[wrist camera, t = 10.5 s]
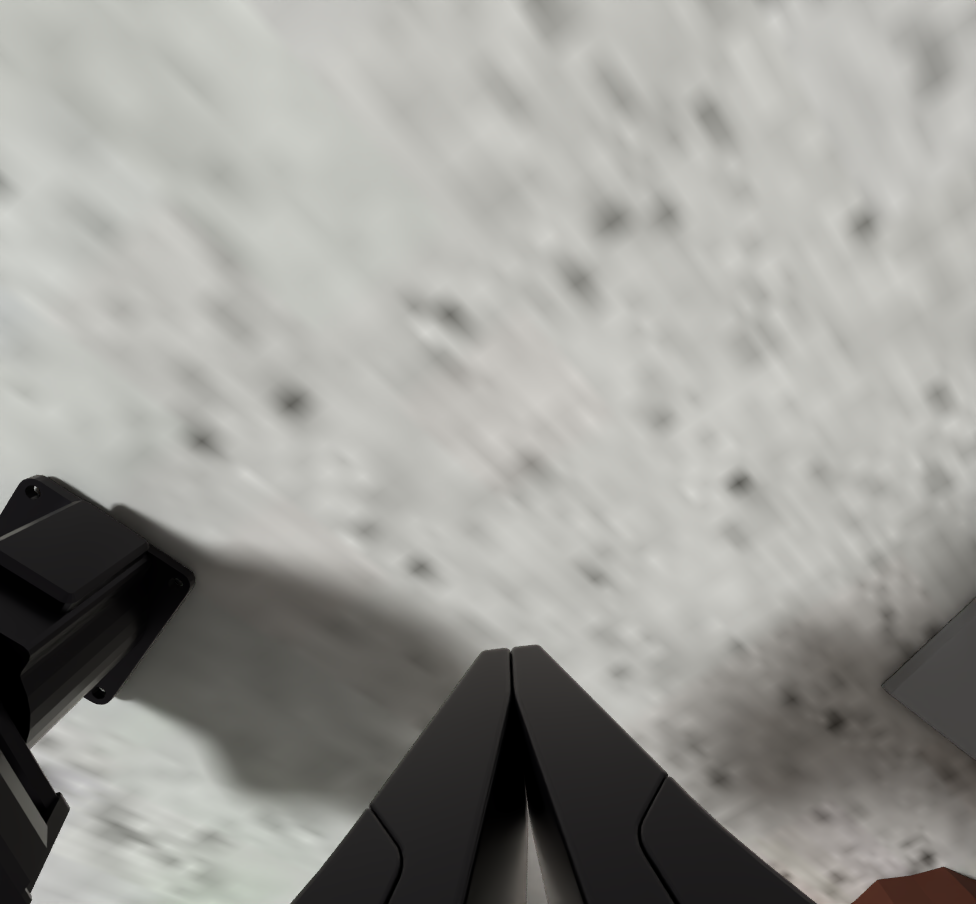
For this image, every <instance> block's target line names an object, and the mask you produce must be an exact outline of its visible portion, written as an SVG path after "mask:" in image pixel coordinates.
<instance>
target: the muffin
mask: <svg viewBox="0 0 976 904" xmlns="http://www.w3.org/2000/svg"><path fill="white" fill-rule="evenodd" d="M851 904H976V880H973V879H970V878H968V877H965V876H963V875H961V874H959V873H956V872H954V871H952V870H950V869H948V868H945V867H941V868H937V869H934V870H930V871H926V872H923V873H919V874H915V875H911V876H904V877H896V878H888V879H880V880H877V881H876V882H874V883H873V884H872V885H871V886H870V887H869V888H868V889H867V890H866V891H865V892H864V893H863V894H862V895H861V896H860V897H859V898H858V899H856V900H855V901H854V902H853V903H851Z"/></svg>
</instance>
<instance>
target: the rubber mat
mask: <svg viewBox="0 0 976 904" xmlns="http://www.w3.org/2000/svg"><path fill="white" fill-rule="evenodd" d="M882 687H883V688H884V689H885V690H886V691H887V692H888V693H889V694H890V695H892V696H893V697H894V698H895V699H897V700H898V701H899V702H901V703H902V704H903V705H904V706H906V707H907V708H908V709H910V710H911V711H912V712H913V713H915V714H916V715H917V716H919V717H920V718H921V719H922V720H924V721H925V722H926V723H928V724H929V725H930V726H932V727H933V728H934V729H935V730H937V731H938V732H939V733H941V734H942V735H943V736H944V737H946V738H947V739H948V740H950V741H951V742H952V743H953V744H955V745H956V746H957V747H959V748H960V749H961V750H962V751H964V752H965V753H966V754H968V755H969V756H970V757H972V758H973V759H974V760H975V761H976V598H975V599H974V600H973V601H972V602H971V603H970V604H969V605H967V606H966V607H965V608H964V609H963V610H962V611H961V612H960V613H959V614H958V615H957V616H956V617H955V618H954V619H952V620H951V621H950V622H949V623H948V624H947V625H946V626H945V627H944V628H943V629H942V630H941V631H940V632H939V633H938V634H936V635H935V636H934V637H933V638H932V639H931V640H930V641H929V642H928V643H927V644H926V645H925V646H924V647H923V648H921V649H920V650H919V651H918V652H917V653H916V654H915V655H914V656H913V657H912V658H911V659H910V660H909V661H908V662H907V663H905V664H904V665H903V666H902V667H901V668H900V669H899V670H898V671H897V672H896V673H895V674H894V675H893V676H892V677H890V678H889V679H888V680H887V681H886V682H885V683H884V684H883V685H882Z"/></svg>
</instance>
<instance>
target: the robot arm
mask: <svg viewBox="0 0 976 904" xmlns="http://www.w3.org/2000/svg"><path fill="white" fill-rule="evenodd" d="M34 486H36V487H37V488H38V489H39V490H40V493H41V495H38V494H37V493H36V492H35V490H34ZM174 578H178V579H180V580H181V581H182V583H183V586H180V585H178V584H177V583H176V582H175V580H174ZM194 585H195V576H194V574H193V573H192V572H191V571H190V570H189V569H188V568H186V567H185V566H183V565H182V564H180V563H179V562H177V561H176V560H174V559H173V558H171V557H169V556H168V555H166V554H165V553H163V552H162V551H160V550H159V549H157V548H156V547H154V546H153V545H151V544H149V543H148V542H147V541H146V540H145V539H144V538H143V537H141V536H140V535H138V534H136V533H135V532H133V531H132V530H130V529H129V528H127V527H126V526H124V525H123V524H121V523H120V522H118V521H116V520H115V519H113V518H112V517H110V516H109V515H107V514H106V513H104V512H103V511H101V510H100V509H98V508H96V507H95V506H93V505H92V504H90V503H89V502H87V501H85V500H82V499H80V498H79V497H77V496H76V495H74V494H73V493H71V492H69V491H68V490H66V489H65V488H63V487H62V486H60V485H59V484H57V483H56V482H54V481H53V480H51V479H49V478H48V477H45V476H43V475H36V476H33V477H30V478H27V479H25V480H23V481H22V482H21V483H20V484H19V485H18V487H17V488H16V490H15V492H14V493H13V495H12V497H11V498H10V500H9V501H8V503H7V505H6V506H5V508H4V510H3V511H2V513H1V514H0V904H30V903H31V901H32V896H31V894H30V893H31V891H32V889H33V887H34V885H35V883H36V880H37V878H38V876H39V874H40V872H41V870H42V868H43V866H44V863H45V861H46V859H47V857H48V855H49V853H50V851H51V849H52V846H53V844H54V842H55V840H56V838H57V836H58V834H59V832H60V829H61V827H62V825H63V823H64V821H65V819H66V817H67V815H68V812H69V810H70V807H69V805H68V804H67V802H66V800H65V799H64V797H63V795H62V794H61V793H60V792H58V793H55V791H54V789H53V788H52V786H51V784H50V783H49V781H48V779H47V778H46V776H45V774H44V773H43V771H42V769H41V768H40V766H39V764H38V763H37V761H36V759H35V758H34V756H33V754H32V753H31V751H30V749H31V748H32V747H33V746H34V745H35V744H36V743H37V742H38V741H39V740H40V739H41V738H42V737H43V736H44V735H45V734H46V733H47V732H48V731H49V730H50V729H51V728H52V727H53V726H54V725H55V724H56V723H57V722H58V721H59V720H60V719H61V718H62V717H63V716H64V715H65V714H67V713H68V712H69V711H70V710H71V709H72V708H73V707H74V706H75V705H76V704H77V703H78V702H79V701H80V700H81V699H82V698H83V697H84V698H86V699H88V700H89V701H91V702H93V703H95V704H101V705H103V704H106V703H108V702H109V701H110V700H111V699H112V698H113V697H114V696H115V695H116V694H117V693H118V692H119V690H120V689H121V688H122V686H123V685H124V683H125V682H126V681H127V679H128V678H129V676H130V675H131V674H132V672H133V671H134V669H135V668H136V667H137V665H138V664H139V662H140V661H141V660H142V658H143V657H144V655H145V654H146V653H147V651H148V650H149V649H150V647H151V646H152V644H153V643H154V642H155V640H156V639H157V637H158V636H159V635H160V633H161V632H162V630H163V629H164V628H165V626H166V625H167V623H168V622H169V621H170V619H171V618H172V616H173V615H174V614H175V612H176V611H177V609H178V608H179V607H180V605H181V604H182V603H183V601H184V600H185V598H186V597H187V596H188V594H189V593H190V591H191V590H192V589H193V587H194ZM99 687H101V688H103V689H104V690H105V692H104V691H102V690H101V689H100V688H99ZM526 794H527V796H526ZM527 802H528V809H529V817H530V822H531V827H532V832H533V837H534V842H535V846H536V851H537V855H538V860H539V865H540V869H541V874H542V878H543V883H544V887H545V892H546V897H547V901H548V904H817V903H815V902H814V901H813V900H812V899H810V898H809V897H808V896H807V895H805V894H804V893H803V892H802V891H800V890H799V889H798V888H797V887H795V886H794V885H793V884H792V883H790V882H789V881H788V880H787V879H785V878H784V877H783V876H782V875H780V874H779V873H778V872H777V871H775V870H774V869H773V868H772V867H770V866H769V865H768V864H767V863H765V862H764V861H763V860H762V859H761V858H760V857H758V856H757V855H756V854H755V853H754V852H752V851H751V850H750V849H749V848H748V847H746V846H745V845H744V844H743V843H742V842H741V841H739V840H738V839H737V838H736V837H735V836H733V835H732V834H731V833H730V832H729V831H727V830H726V829H725V828H724V827H723V826H722V825H721V824H720V823H718V822H717V821H716V820H715V819H714V818H713V817H712V816H711V815H710V814H709V813H708V812H707V811H706V810H705V809H704V808H703V807H701V806H700V805H699V804H698V803H697V802H696V801H695V800H694V799H693V798H692V797H691V796H690V795H689V794H688V793H687V792H686V791H685V790H684V789H683V788H682V787H681V786H680V785H679V784H678V783H677V782H676V781H675V780H674V779H673V778H672V777H668V774H667V772H666V771H665V770H664V769H663V768H662V767H661V766H660V765H659V764H658V763H657V762H656V761H655V760H654V759H653V758H652V757H651V756H650V755H649V754H648V753H647V752H646V751H645V750H644V749H643V748H642V747H641V746H640V745H639V744H638V743H637V742H636V741H635V740H634V739H633V738H632V737H631V736H630V735H629V734H628V733H627V732H626V731H625V730H624V729H623V728H622V727H621V726H620V725H619V724H618V723H617V722H616V721H615V720H614V719H613V718H612V717H611V716H610V715H609V714H608V713H607V712H606V711H605V710H604V709H603V708H602V707H601V706H600V705H599V704H598V703H597V702H596V701H595V700H594V699H593V698H592V697H591V696H590V695H589V694H588V693H587V692H586V691H585V690H584V689H583V688H582V687H581V686H580V685H579V684H578V683H577V682H576V681H575V680H574V679H573V678H572V677H571V676H570V675H569V674H568V673H567V672H566V671H565V670H564V669H563V668H562V667H561V666H560V665H559V664H558V663H557V662H556V661H555V660H554V659H553V658H552V657H551V656H550V655H549V654H548V653H547V652H546V651H545V650H544V649H543V648H542V647H541V646H539V645H528V646H519V647H514V648H513V649H512V651H511V652H510V650H509V649H507V648H501V649H492V650H485V651H482V652H481V653H480V654H479V656H478V657H477V659H476V660H475V661H474V663H473V664H472V665H471V667H470V668H469V669H468V671H467V672H466V674H465V675H464V676H463V678H462V679H461V680H460V682H459V683H458V684H457V686H456V687H455V689H454V690H453V691H452V693H451V694H450V695H449V697H448V698H447V699H446V701H445V702H444V704H443V705H442V706H441V708H440V709H439V710H438V712H437V713H436V714H435V716H434V717H433V719H432V720H431V721H430V723H429V724H428V725H427V727H426V728H425V729H424V731H423V732H422V734H421V735H420V736H419V738H418V739H417V740H416V742H415V743H414V744H413V746H412V747H411V749H410V750H409V751H408V753H407V754H406V755H405V757H404V758H403V759H402V761H401V762H400V764H399V765H398V766H397V768H396V769H395V770H394V772H393V773H392V774H391V776H390V777H389V779H388V780H387V781H386V783H385V784H384V785H383V787H382V788H381V789H380V791H379V792H378V794H377V795H376V796H375V798H374V799H373V800H372V802H371V803H370V805H369V809H366V810H365V811H364V812H363V814H362V815H361V816H360V818H359V819H358V820H357V822H356V823H355V824H354V826H353V827H352V829H351V830H350V831H349V833H348V834H347V835H346V836H345V838H344V839H343V840H342V842H341V843H340V844H339V845H338V847H337V848H336V849H335V851H334V852H333V853H332V854H331V856H330V857H329V858H328V860H327V861H326V862H325V863H324V865H323V866H322V867H321V869H320V870H319V871H318V872H317V873H316V874H315V876H314V877H313V878H312V879H311V880H310V881H309V883H308V884H307V885H306V886H305V887H304V888H303V890H302V891H301V892H300V893H299V894H298V895H297V896H296V898H295V899H294V900H293V901H292V902H291V903H290V904H526V894H527V851H528V811H527Z"/></svg>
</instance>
